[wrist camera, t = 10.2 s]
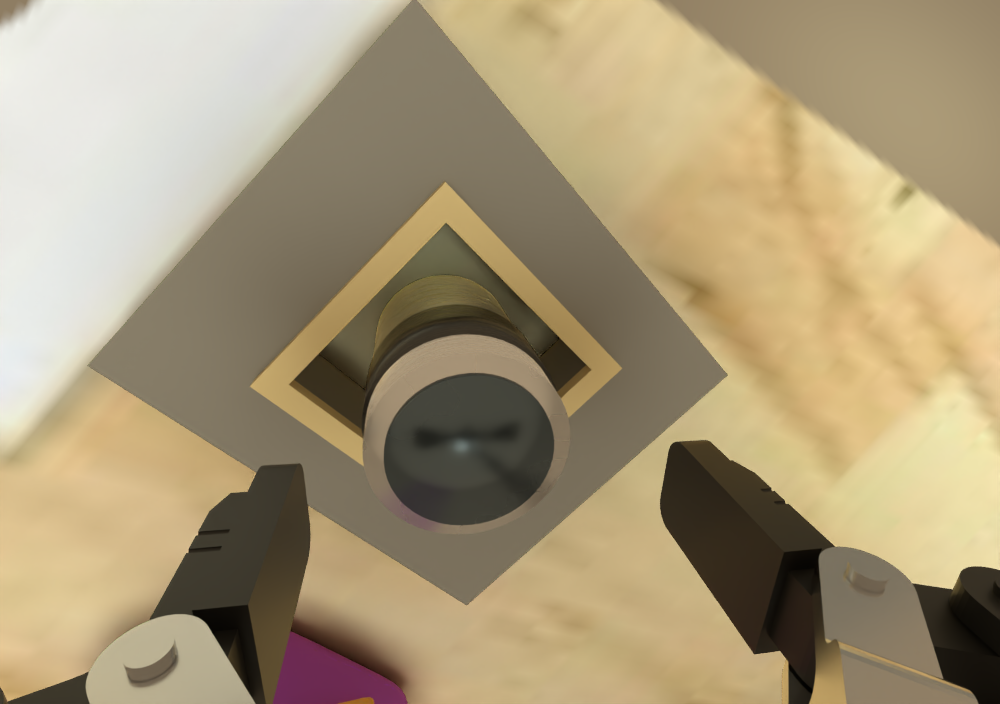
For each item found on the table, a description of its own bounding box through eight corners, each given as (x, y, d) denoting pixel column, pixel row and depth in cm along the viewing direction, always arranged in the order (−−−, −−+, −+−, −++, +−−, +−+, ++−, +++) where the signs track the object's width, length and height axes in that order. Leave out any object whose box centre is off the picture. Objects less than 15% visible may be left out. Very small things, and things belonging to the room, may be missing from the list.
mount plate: (687, 347, 22) (735, 380, 19) (458, 553, 24) (468, 615, 21) (412, 23, 16) (415, -8, 13) (135, 332, 18) (77, 372, 15)
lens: (538, 336, 21) (618, 444, 13) (444, 426, 22) (470, 576, 14) (442, 241, 19) (473, 305, 11) (342, 343, 19) (307, 467, 12)
